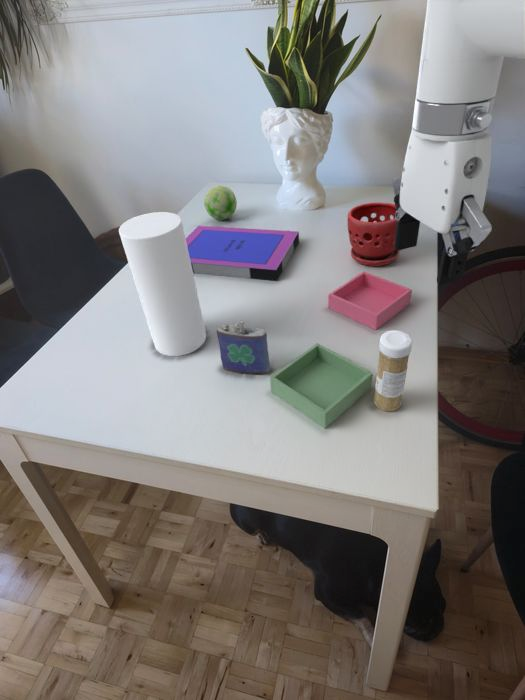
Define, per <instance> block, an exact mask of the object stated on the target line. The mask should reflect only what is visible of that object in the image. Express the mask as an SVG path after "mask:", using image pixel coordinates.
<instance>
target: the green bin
mask: <svg viewBox="0 0 525 700" xmlns="http://www.w3.org/2000/svg"><path fill="white" fill-rule="evenodd" d="M373 376H374V373H373V372H372V371H370V370H368V369H367V368H365V367H362V366H361V365H359V364H357V363H355V362H353V361H351V360H350V359H348V358H346V357H344V356H343V355H341V354H338V353H337V352H335V351H333V350H331V349H329V348H328V347H326V346H323V345H321V344H320V343H318V342H317V343H315V344H314V345H312V346H311V347H310V348H309V349H307V350H306V351H304V352H303V353H302V354H300V355H299V356H297V357H296V358H295V359H293V360H292V361H291V362H289V363H287V364H286V365H285V366H284V367H282V368H281V369H279V370H278V371H277V372H275V373H274V374H272V375H271V376H270V377H269V384H270V392H271V394H274V395H275V396H276V397H278V398H279V399H281V400H282V401H284V402H285V403H287V404H288V405H290V406H291V407H293V409H295V410H296V411H298V412H299V413H301V414H302V415H304V416H306V417H307V418H309V419H310V420H312V421H313V422H315V423H316V424H317V425H319V426H321V427H322V428H323V429H327V428H328V427H329V426H330V425H331V424H332V423H333V422H335V421H336V420H337V419H338V418H339V417H340V416H341V415H342V414H344V413H345V412H346V411H347V410H348V409H350V407H351V406H353V405H354V404H355V403H356V402H357V401H358V400H359V399H361V398H362V397H363V396H364V395H365V394H367V393H368V391H370V390H371V389H372V387H373Z"/></svg>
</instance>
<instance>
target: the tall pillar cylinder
mask: <svg viewBox="0 0 525 700" xmlns="http://www.w3.org/2000/svg"><path fill="white" fill-rule="evenodd" d="M118 234H119V237H120V240H121V243H122V247H123V250H124V253H125V255H126V256H125V257H126V259H127V263H128V266H129V268H130V272H131V275H132V279H133V282H134V285H135V288H136V291H137V295H138V297H139V301H140V304H141V308H142V310H143V313H144V316H145V320H146V323H147V326H148V328H149V333H150V335H151V339H152V342H153V346H154V348H155V350H156V351H157V352H158V353H160V354H161V355H164V356H168V357H179V356H185V355H189V354H191V353H193V352H196V351H197V350H198V349H200V348H201V347H202V346H203V345H204V344H205V341H206V340H207V333H206V332H207V331H206V327H205V323H204V318H203V317H204V316H203V313H202V308H201V303H200V298H199V295H198V290H197V285H196V281H195V275H194V273H193V271H192V266H191V261H190V256H189V252H188V247H187V242H186V238H187V237H186V234H185V229H184V224H183V220H182V218H181V216H180V215H178V214H176V213H173V212H169V211H168V212H167V211H155V212H149V213H144V214H140V215H136V216H134V217H131V218H129V219H128V220H126V221H125V222H123V223H122V224H121V225H120V226H119V228H118Z"/></svg>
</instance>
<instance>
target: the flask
mask: <svg viewBox="0 0 525 700" xmlns="http://www.w3.org/2000/svg"><path fill="white" fill-rule="evenodd" d="M244 324H245V321H244V320H242V319H241V320H239V321H237V322H235V324H234V326H233V325H231V324H229V323H225V324H220V325H218V326H217V327H216V335H217V341H218V346H219V353H220V359H221V360H220V361H221V364H222V369H224V370H225V371H227V372H230V373H231V372H232V373H235V374H246V375H257V376H260V375H267V374H268V373H269V372H270V370H271V363H270V358H269V357H270V355H269V345H268V333H267V331H266V330H265V329H264V328H260V327H259V328H257V327H256V328H251V327H244Z"/></svg>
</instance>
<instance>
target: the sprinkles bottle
mask: <svg viewBox="0 0 525 700" xmlns="http://www.w3.org/2000/svg"><path fill="white" fill-rule="evenodd" d="M378 344H379V345H378V349H379V355H378V364H377V370H376V377H375V385H374V387H375V390H374V396H373V403H374V405H375V407H376V408H378V409H379V410H382V411H384V412H395V411H397V410H399V408H401V406H402V402H403V401H402V396H403V392H404V388H405V384H406V377H407V372H408V363H409V357H410V354H411V352H412V348H413V339H412V337H411V336H410V335H409V334H408V333H406V332H404V331H402V330H392V329H391V330H388V331H385V332H384V333H382V334H381V335H380V338H379V343H378Z"/></svg>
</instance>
